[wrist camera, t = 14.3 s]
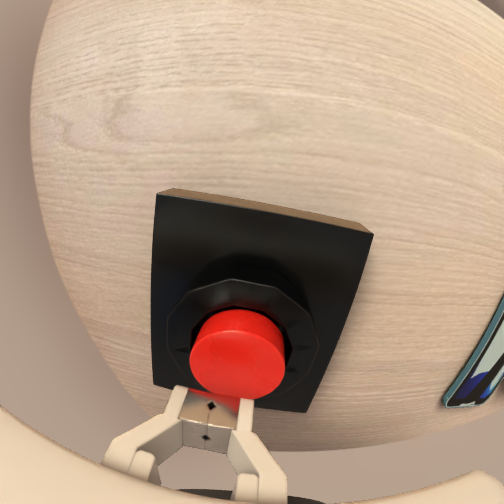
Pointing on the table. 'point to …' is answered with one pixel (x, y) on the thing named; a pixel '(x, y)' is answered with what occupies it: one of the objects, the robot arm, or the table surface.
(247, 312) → the light button
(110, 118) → the table surface
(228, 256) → the switch box
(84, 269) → the table surface
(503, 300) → the smartphone
